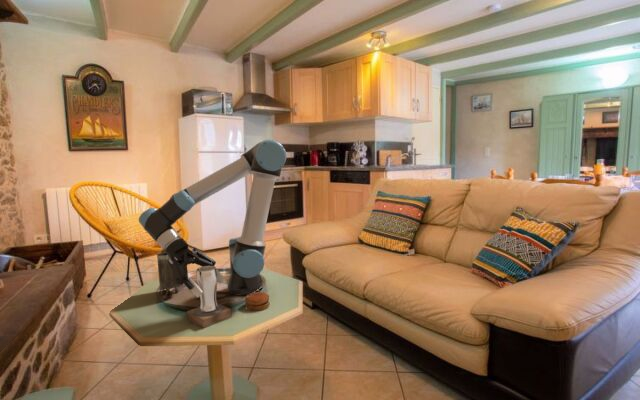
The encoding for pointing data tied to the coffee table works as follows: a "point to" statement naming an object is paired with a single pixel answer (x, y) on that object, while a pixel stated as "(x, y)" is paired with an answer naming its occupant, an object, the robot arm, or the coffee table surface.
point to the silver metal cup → (207, 288)
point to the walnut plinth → (208, 316)
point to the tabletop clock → (166, 273)
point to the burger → (257, 301)
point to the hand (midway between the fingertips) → (212, 287)
